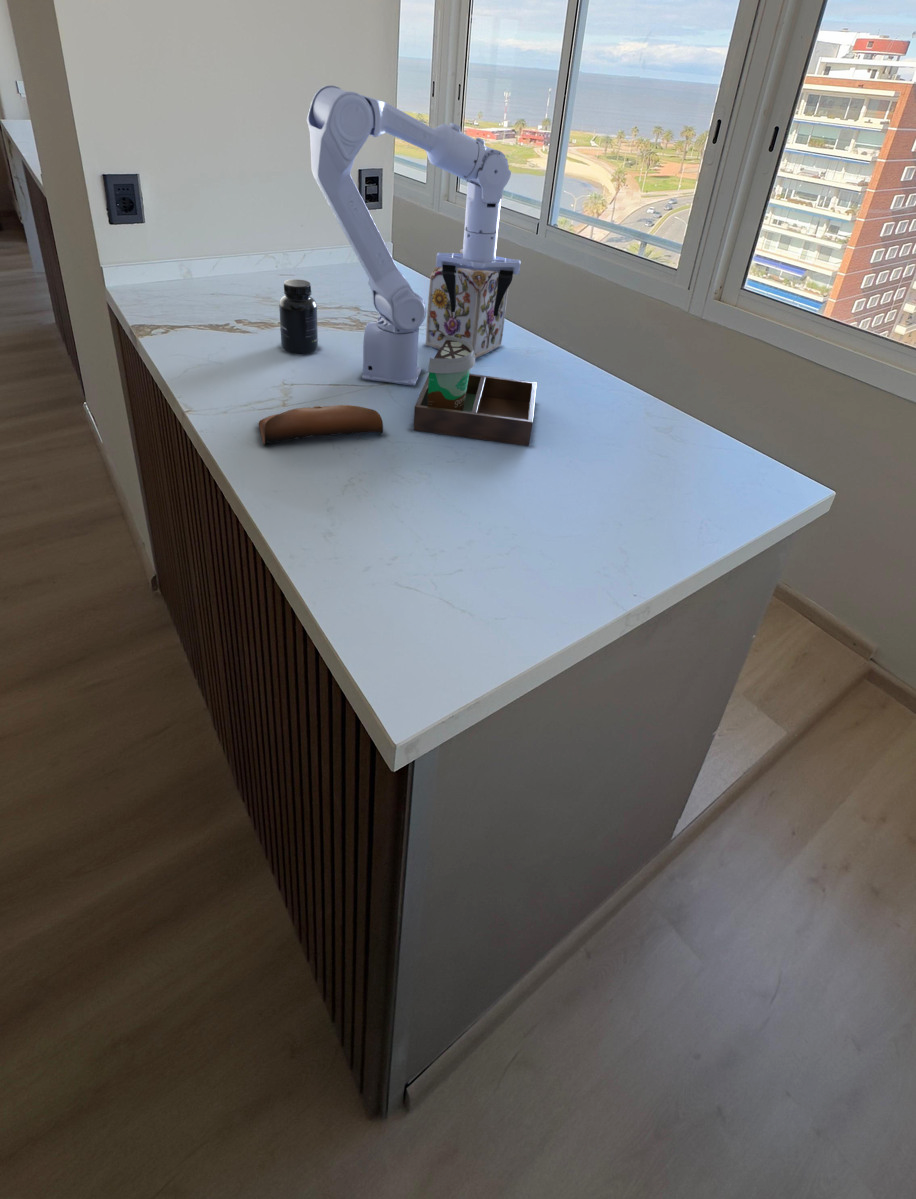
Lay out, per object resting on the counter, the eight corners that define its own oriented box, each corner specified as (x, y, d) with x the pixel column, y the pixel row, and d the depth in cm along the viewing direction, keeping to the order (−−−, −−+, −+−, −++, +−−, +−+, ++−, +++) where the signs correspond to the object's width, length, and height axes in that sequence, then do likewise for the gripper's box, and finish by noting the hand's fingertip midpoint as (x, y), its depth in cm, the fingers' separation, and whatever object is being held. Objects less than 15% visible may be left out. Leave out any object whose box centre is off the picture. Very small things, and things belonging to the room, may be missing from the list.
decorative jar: (473, 361, 141) (483, 262, 130) (423, 346, 145) (429, 248, 134) (503, 346, 149) (515, 252, 138) (455, 332, 153) (463, 239, 142)
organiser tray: (413, 430, 115) (414, 406, 112) (429, 390, 128) (430, 368, 125) (528, 446, 114) (532, 422, 111) (533, 404, 127) (536, 382, 124)
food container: (462, 427, 115) (468, 365, 109) (424, 420, 116) (428, 358, 110) (476, 397, 125) (482, 339, 119) (441, 392, 126) (446, 333, 119)
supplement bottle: (274, 350, 136) (269, 283, 129) (294, 339, 141) (290, 274, 134) (306, 358, 135) (303, 290, 127) (325, 347, 140) (323, 281, 132)
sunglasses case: (368, 411, 117) (375, 385, 111) (378, 448, 115) (386, 424, 109) (254, 420, 111) (255, 393, 105) (263, 460, 109) (264, 435, 103)
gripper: (436, 231, 120) (432, 315, 128) (524, 239, 120) (514, 323, 128) (439, 222, 125) (435, 303, 134) (523, 229, 125) (514, 310, 134)
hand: (474, 312), depth 131 cm, fingers open, 7 cm apart
